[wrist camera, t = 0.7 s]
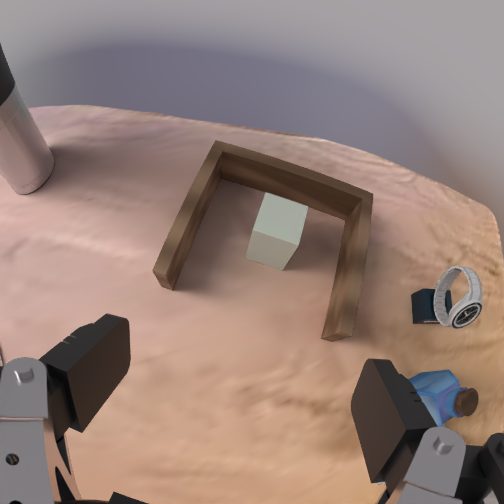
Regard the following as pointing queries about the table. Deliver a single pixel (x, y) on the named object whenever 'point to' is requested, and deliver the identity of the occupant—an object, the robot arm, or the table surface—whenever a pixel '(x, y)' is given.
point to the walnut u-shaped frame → (289, 187)
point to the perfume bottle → (444, 395)
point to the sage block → (276, 231)
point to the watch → (448, 301)
